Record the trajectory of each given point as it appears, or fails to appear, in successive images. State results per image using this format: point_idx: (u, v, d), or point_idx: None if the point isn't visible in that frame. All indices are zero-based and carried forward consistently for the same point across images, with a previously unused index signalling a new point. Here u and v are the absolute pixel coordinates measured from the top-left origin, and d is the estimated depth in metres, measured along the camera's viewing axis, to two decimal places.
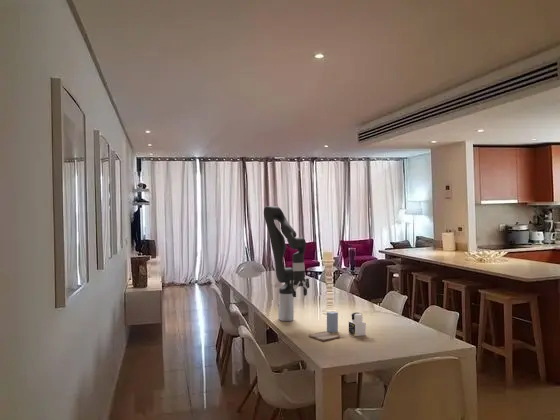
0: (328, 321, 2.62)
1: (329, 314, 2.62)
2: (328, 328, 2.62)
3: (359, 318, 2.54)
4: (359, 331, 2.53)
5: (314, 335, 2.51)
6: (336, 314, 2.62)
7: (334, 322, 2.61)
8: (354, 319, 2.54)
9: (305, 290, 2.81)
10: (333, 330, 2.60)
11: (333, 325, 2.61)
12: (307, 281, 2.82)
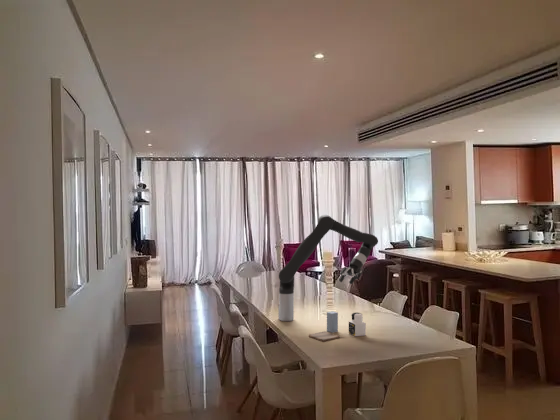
0: (328, 321, 2.62)
1: (329, 314, 2.61)
2: (328, 328, 2.62)
3: (359, 318, 2.54)
4: (359, 331, 2.53)
5: (314, 335, 2.51)
6: (336, 314, 2.62)
7: (334, 322, 2.61)
8: (354, 319, 2.54)
9: (343, 278, 2.78)
10: (333, 330, 2.60)
11: (333, 325, 2.61)
12: (346, 271, 2.82)
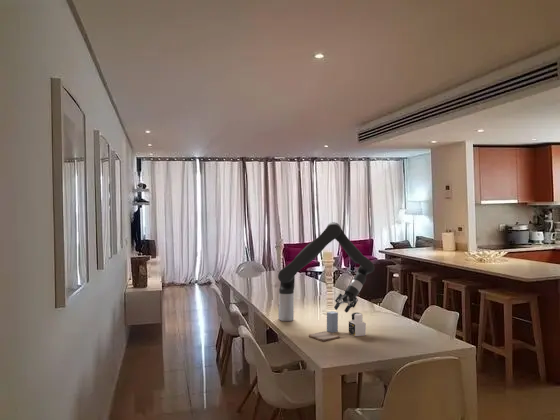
0: (328, 321, 2.62)
1: (329, 314, 2.62)
2: (328, 328, 2.62)
3: (359, 318, 2.54)
4: (359, 331, 2.53)
5: (314, 335, 2.51)
6: (336, 314, 2.62)
7: (334, 322, 2.61)
8: (354, 319, 2.54)
9: (339, 305, 2.72)
10: (333, 330, 2.60)
11: (333, 325, 2.61)
12: (341, 298, 2.76)
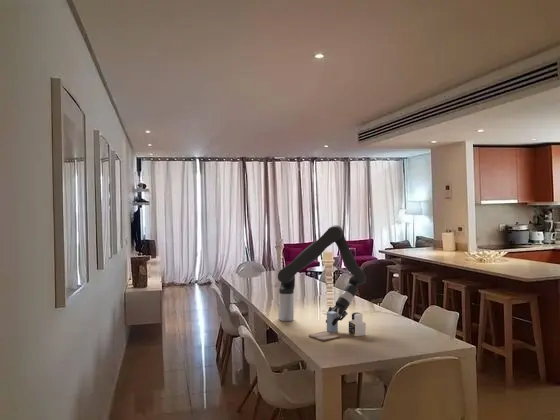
0: (328, 321, 2.62)
1: (329, 314, 2.62)
2: (328, 328, 2.62)
3: (359, 318, 2.54)
4: (359, 331, 2.53)
5: (314, 335, 2.51)
6: (336, 314, 2.62)
7: None
8: (354, 319, 2.54)
9: None
10: (333, 330, 2.61)
11: None
12: None
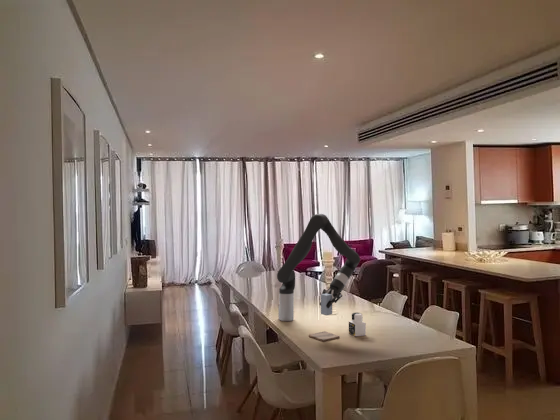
0: (322, 303, 2.52)
1: (323, 296, 2.52)
2: (322, 311, 2.52)
3: (359, 318, 2.54)
4: (359, 331, 2.53)
5: (314, 335, 2.51)
6: (330, 296, 2.52)
7: None
8: (354, 319, 2.54)
9: None
10: (327, 313, 2.51)
11: None
12: None
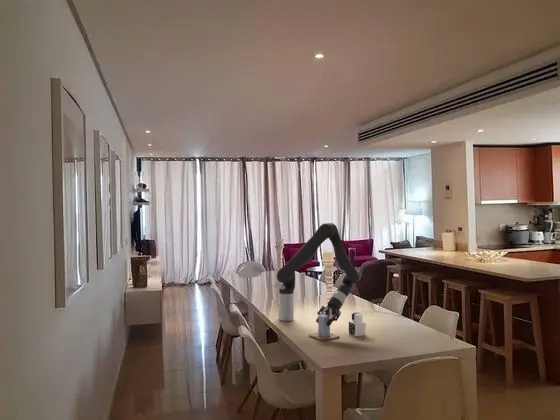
0: (320, 324, 2.50)
1: (321, 317, 2.50)
2: (320, 332, 2.50)
3: (359, 318, 2.54)
4: (359, 331, 2.53)
5: (314, 335, 2.51)
6: (328, 317, 2.50)
7: (326, 326, 2.49)
8: (354, 319, 2.54)
9: None
10: (325, 334, 2.49)
11: (325, 329, 2.49)
12: None
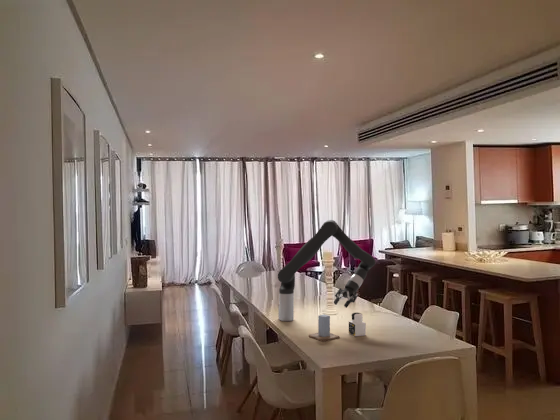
0: (320, 324, 2.50)
1: (321, 317, 2.50)
2: (320, 332, 2.50)
3: (359, 318, 2.54)
4: (359, 331, 2.53)
5: (314, 335, 2.51)
6: (328, 317, 2.50)
7: (326, 326, 2.49)
8: (354, 319, 2.54)
9: (338, 300, 2.67)
10: (325, 334, 2.49)
11: (325, 329, 2.49)
12: None
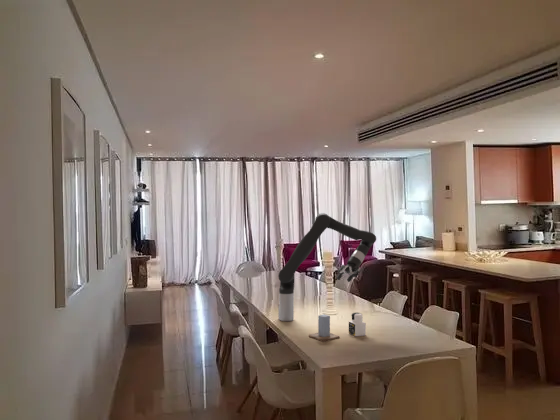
0: (320, 324, 2.50)
1: (321, 317, 2.50)
2: (320, 332, 2.50)
3: (359, 318, 2.54)
4: (359, 331, 2.53)
5: (314, 335, 2.51)
6: (328, 317, 2.50)
7: (326, 326, 2.49)
8: (354, 319, 2.54)
9: (341, 276, 2.74)
10: (325, 334, 2.49)
11: (325, 329, 2.49)
12: (344, 269, 2.78)
